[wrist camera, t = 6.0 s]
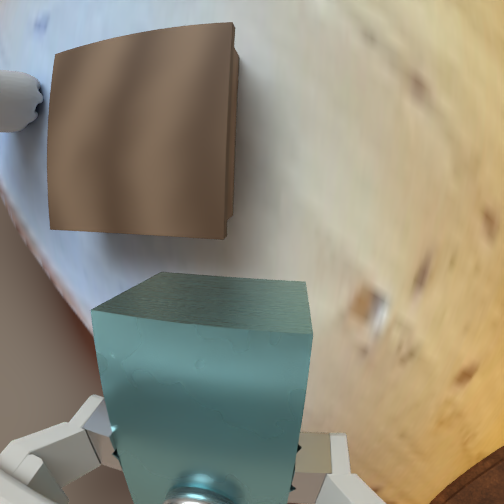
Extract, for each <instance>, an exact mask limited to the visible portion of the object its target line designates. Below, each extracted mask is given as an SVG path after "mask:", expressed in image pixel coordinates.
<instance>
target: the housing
mask: <svg viewBox="0 0 504 504" xmlns="http://www.w3.org/2000/svg"><path fill="white" fill-rule="evenodd" d="M91 317H92V325H93V333H94V341H95V348H96V354H97V361H98V366H99V373H100V378H101V383H102V389H103V394H104V399H105V403H106V408H107V412H108V417H109V421H110V425H111V429H112V432H113V436H114V440H115V444H116V448H117V452H118V455H119V459H120V462H121V466H122V469H123V472H124V475H125V478H126V481H127V484H128V488H129V490H130V493H131V496H132V499H133V502H134V504H287V501H288V496H289V491H290V486H291V481H292V476H293V470H294V465H295V459H296V453H297V447H298V441H299V435H300V429H301V423H302V416H303V409H304V402H305V395H306V388H307V380H308V373H309V365H310V356H311V348H312V339H313V331H312V323H311V316H310V309H309V302H308V295H307V288H306V282H301V281H283V280H267V279H251V278H236V277H221V276H207V275H194V274H181V273H168V272H161V273H159V274H157V275H155V276H153V277H151V278H149V279H147V280H145V281H144V282H142V283H140V284H138V285H136V286H134V287H132V288H130V289H129V290H127V291H125V292H123V293H121V294H119V295H117V296H115V297H114V298H112V299H110V300H108V301H106V302H104V303H102V304H101V305H99V306H97V307H95V308H93V309H91Z"/></svg>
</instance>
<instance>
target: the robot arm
mask: <svg viewBox="0 0 504 504" xmlns="http://www.w3.org/2000/svg"><path fill="white" fill-rule="evenodd" d="M100 464H102V465H106V466H108V467H111V468H115V469H118V470H121V471H123V469H122V466H121V462H120V459H119V455H118V452H117V448H116V444H115V440H114V436H113V432H112V429H111V425H110V421H109V417H108V412H107V408H106V403H105V399H104V397H100V396H98V395H95V394H94V395H92V396H90V397H89V398H88V399H87V401H86V402H85V403H84V404H83V405H82V407H81V408H80V409H79V410H78V412H77V413H76V414H75V415H74V417H73V418H72V419H71V420H70V422H69V423H67V422H64V423H61V424H58V425H55V426H53V427H50V428H47V429H44V430H42V431H39V432H36V433H33V434H30V435H28V436H25V437H22V438H19V439H16V440H13V441H11V442H10V443H9V445H8V446H7V447H6V448H5V449H4V450H3V452H2V453H1V454H0V504H68V502H69V499H68V497H67V496H66V494H65V493H64V491H63V490H62V489H61V488H62V487H64V486H66V485H68V484H69V483H71V482H73V481H75V480H76V479H78V478H80V477H81V476H83V475H85V474H87V473H88V472H90V471H92V470H93V469H95V468H97V467H98V466H100ZM287 502H289V503H305V504H386V503H385V502H384V501H383V500H382V499H381V498H380V497H379V496H378V495H377V494H376V493H375V492H374V491H373V490H372V489H371V488H370V487H369V486H368V485H367V484H366V483H365V482H364V481H363V480H362V479H361V478H360V477H359V476H358V475H357V474H351V467H350V459H349V450H348V442H347V435H346V434H345V433H317V432H300V435H299V441H298V447H297V453H296V459H295V465H294V470H293V476H292V481H291V486H290V491H289V496H288V501H287Z"/></svg>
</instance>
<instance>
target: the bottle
mask: <svg viewBox="0 0 504 504" xmlns="http://www.w3.org/2000/svg"><path fill="white" fill-rule="evenodd" d="M40 86H41V85H40V82H39V81H38V79H36V78H35V77H33V76H31V75H29V74H27V73H23V72H17V71H6V70H0V132H17V131H21V130H23V129H24V128H26V126H27V125H28V123H30V122H32V121H34V120H35V119H36V118H37V116H38V113H37V112H36V111H35V108H36V106H37V104H38V103H42V101H43V96H42V94H41V93H40V92H39V91H38V90H39V89H40Z"/></svg>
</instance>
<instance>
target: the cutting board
mask: <svg viewBox="0 0 504 504" xmlns="http://www.w3.org/2000/svg"><path fill="white" fill-rule="evenodd" d="M430 504H504V446H503V447H501V448H499V449H498V450H496V451H495V452H493V453H492V454H490V455H489V456H487V457H486V458H484V459H483V460H481V461H480V462H479V463H477V464H476V465H474V466H473V467H471V468H470V469H469V470H468V471H466V472H465V473H464V474H462V475H461V476H459V477H458V478H457V479H456V480H455V481H453V482H452V483H451V484H450V485H448V486H447V487H446V488H445V489H444V490H443V491H442V492H440V493H439V494H438V495H437V496H436V497H435V498H434V499H433V500H432V501H431V503H430Z"/></svg>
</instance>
